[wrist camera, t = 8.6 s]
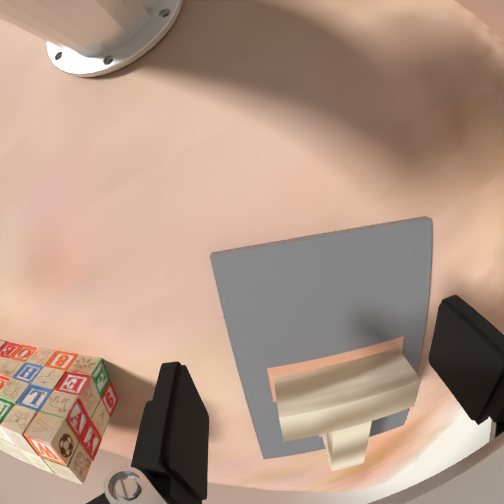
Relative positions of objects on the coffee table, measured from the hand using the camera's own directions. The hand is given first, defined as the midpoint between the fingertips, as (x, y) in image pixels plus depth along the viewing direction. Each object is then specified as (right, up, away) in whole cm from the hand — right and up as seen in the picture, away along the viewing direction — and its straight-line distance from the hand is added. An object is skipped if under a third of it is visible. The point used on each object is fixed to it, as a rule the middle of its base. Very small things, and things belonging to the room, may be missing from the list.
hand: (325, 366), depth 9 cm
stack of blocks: (-28, -10, +16) cm, 34 cm away
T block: (+6, -12, +17) cm, 21 cm away
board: (+6, -7, +16) cm, 18 cm away
